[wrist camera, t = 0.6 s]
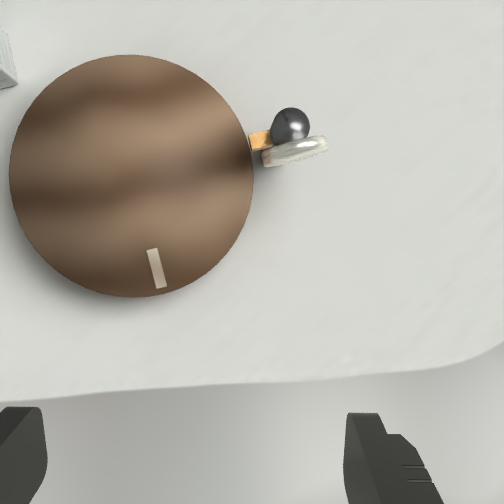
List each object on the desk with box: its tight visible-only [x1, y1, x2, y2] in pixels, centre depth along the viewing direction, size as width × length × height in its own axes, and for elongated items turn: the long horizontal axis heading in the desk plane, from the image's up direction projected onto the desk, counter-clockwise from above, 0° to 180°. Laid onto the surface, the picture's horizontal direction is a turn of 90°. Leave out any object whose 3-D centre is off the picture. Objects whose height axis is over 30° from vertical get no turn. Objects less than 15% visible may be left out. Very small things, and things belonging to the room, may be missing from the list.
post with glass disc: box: [248, 108, 328, 167], centre depth 32 cm, size 5×3×9 cm, turn 104°
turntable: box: [9, 55, 253, 297], centre depth 34 cm, size 18×18×2 cm
